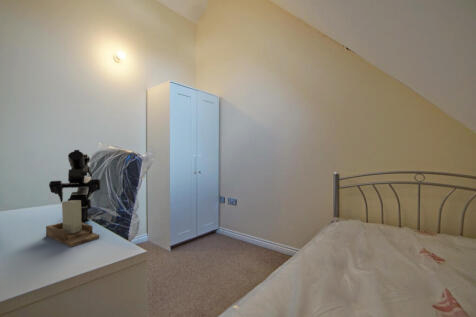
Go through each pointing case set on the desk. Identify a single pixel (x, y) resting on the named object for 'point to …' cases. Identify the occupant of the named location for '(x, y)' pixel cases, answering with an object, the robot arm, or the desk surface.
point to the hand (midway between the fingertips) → (74, 200)
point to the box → (72, 216)
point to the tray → (71, 239)
